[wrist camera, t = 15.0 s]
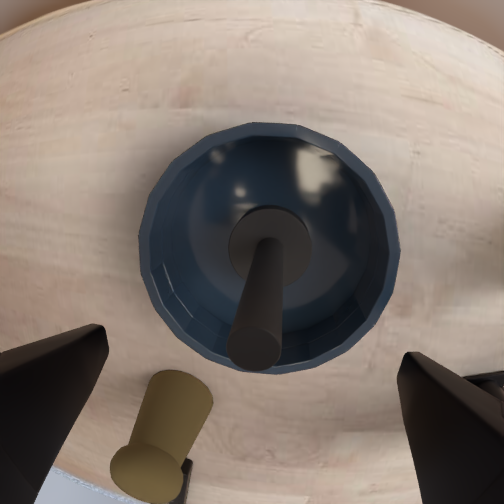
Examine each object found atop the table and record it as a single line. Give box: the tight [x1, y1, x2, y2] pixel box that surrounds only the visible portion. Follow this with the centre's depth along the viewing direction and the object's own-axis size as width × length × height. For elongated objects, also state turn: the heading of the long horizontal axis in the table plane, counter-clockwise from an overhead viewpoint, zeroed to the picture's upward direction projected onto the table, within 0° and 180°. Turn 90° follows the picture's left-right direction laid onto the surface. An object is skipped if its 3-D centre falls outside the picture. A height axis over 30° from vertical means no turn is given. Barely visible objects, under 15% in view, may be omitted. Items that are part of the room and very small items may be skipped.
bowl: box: [138, 122, 401, 375], centre depth 19 cm, size 14×14×4 cm
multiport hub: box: [151, 458, 193, 504], centre depth 29 cm, size 4×14×2 cm, turn 167°
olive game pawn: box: [110, 370, 213, 504], centre depth 20 cm, size 6×6×11 cm
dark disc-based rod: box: [226, 205, 312, 371], centre depth 15 cm, size 5×5×12 cm
